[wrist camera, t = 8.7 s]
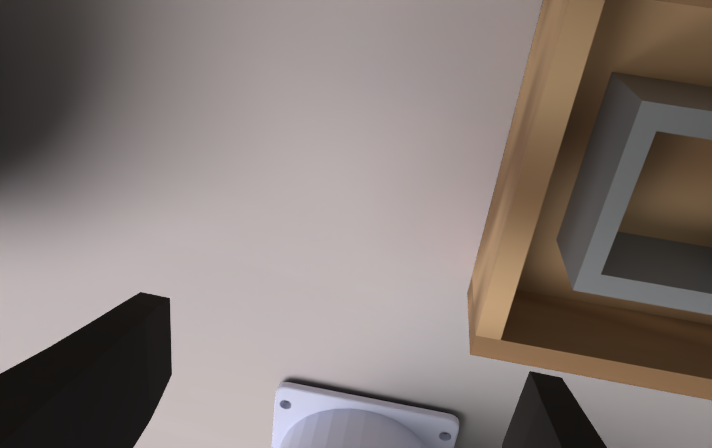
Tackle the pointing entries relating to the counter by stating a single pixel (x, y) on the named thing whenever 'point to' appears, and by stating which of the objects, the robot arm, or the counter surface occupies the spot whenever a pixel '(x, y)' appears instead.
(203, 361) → the counter surface
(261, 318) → the counter surface
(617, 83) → the plate
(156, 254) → the counter surface
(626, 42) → the tray box
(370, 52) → the counter surface
